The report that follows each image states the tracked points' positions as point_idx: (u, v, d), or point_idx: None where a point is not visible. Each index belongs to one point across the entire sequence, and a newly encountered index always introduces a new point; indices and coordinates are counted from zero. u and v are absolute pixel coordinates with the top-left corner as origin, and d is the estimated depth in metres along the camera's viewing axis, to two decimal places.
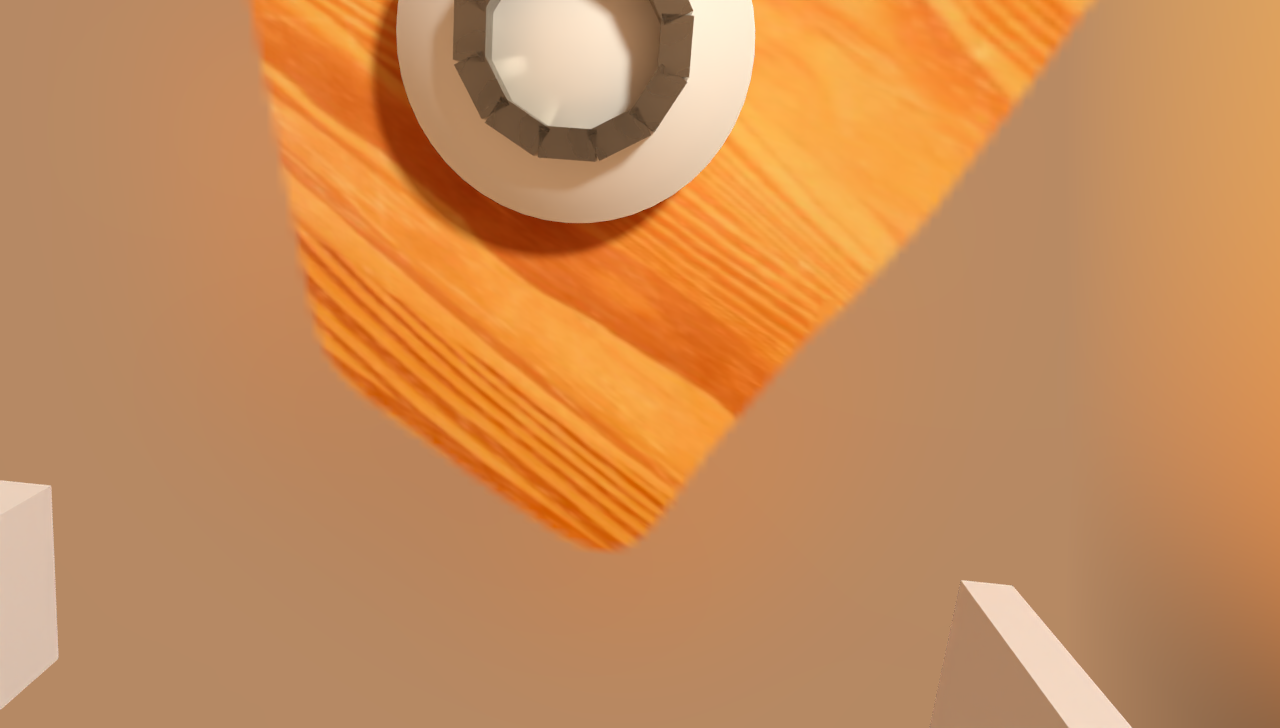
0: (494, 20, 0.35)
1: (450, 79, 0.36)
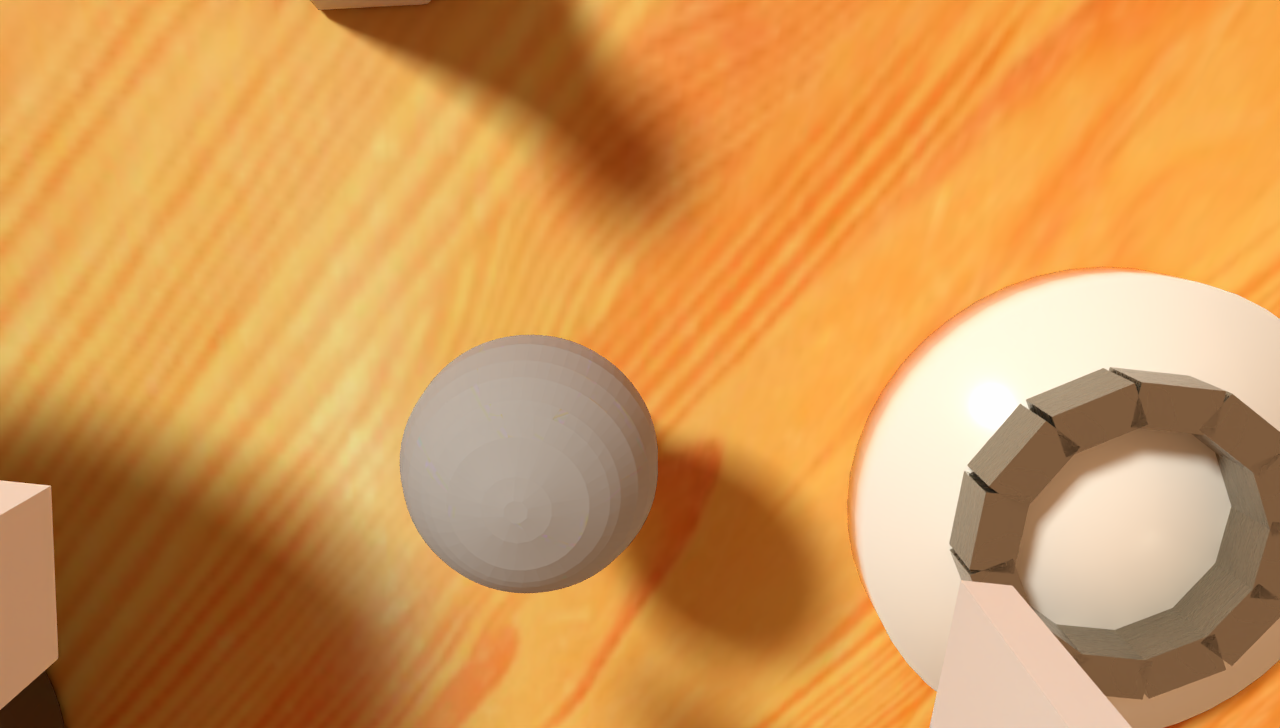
0: (1067, 623, 0.26)
1: None
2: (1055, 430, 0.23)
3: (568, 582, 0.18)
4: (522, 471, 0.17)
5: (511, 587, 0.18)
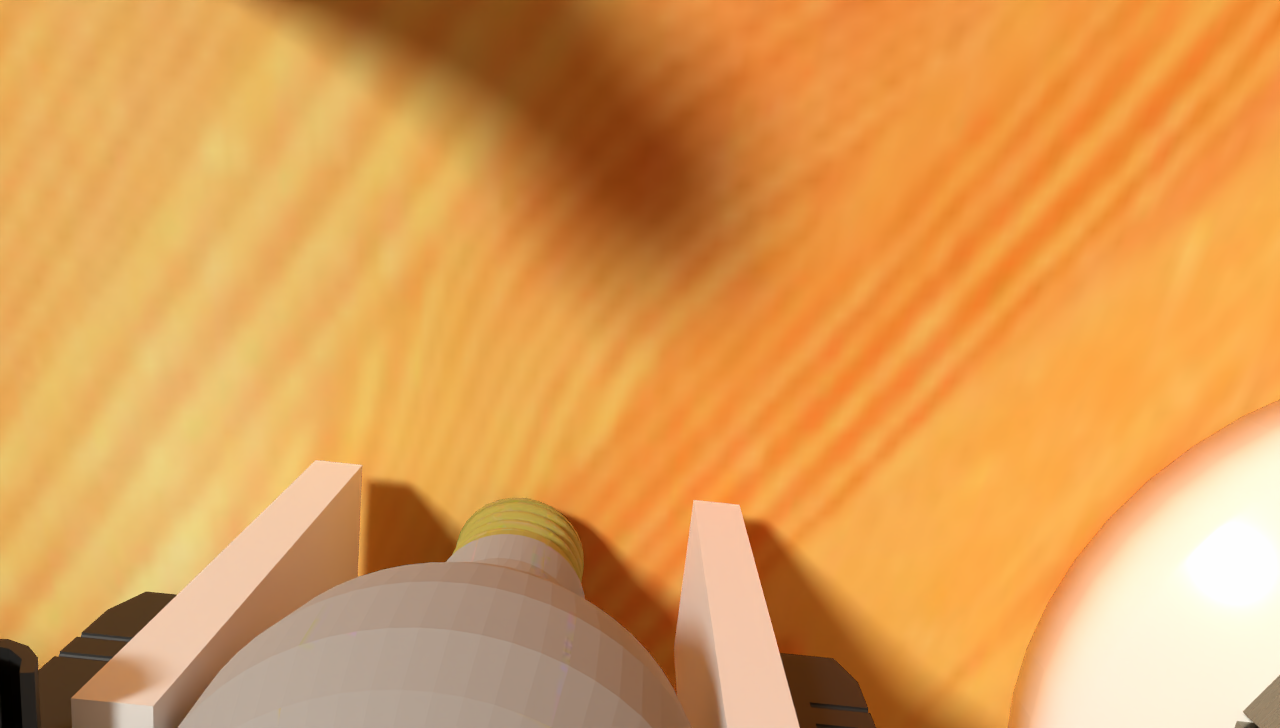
0: None
1: None
2: None
3: None
4: None
5: None
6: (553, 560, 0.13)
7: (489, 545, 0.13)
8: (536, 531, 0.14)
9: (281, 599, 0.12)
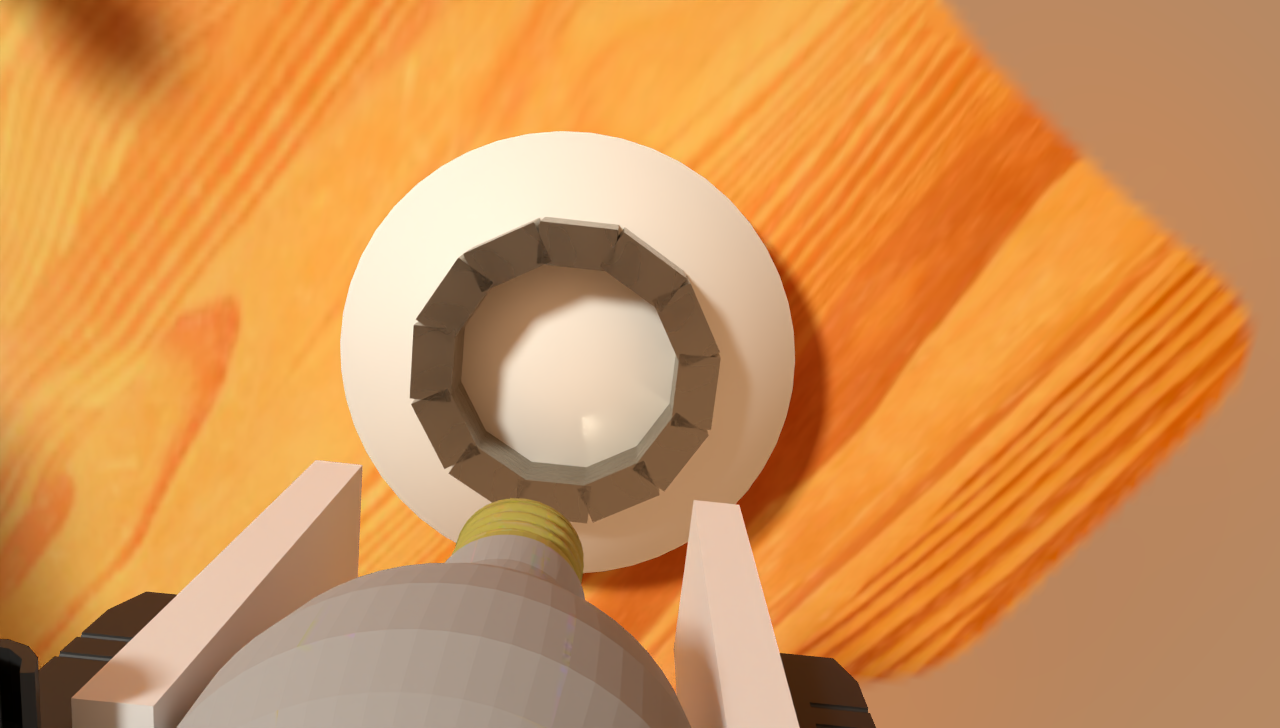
0: (541, 460, 0.29)
1: (608, 516, 0.29)
2: (468, 266, 0.26)
3: None
4: None
5: None
6: (552, 561, 0.13)
7: (488, 546, 0.13)
8: (536, 532, 0.14)
9: (281, 599, 0.12)
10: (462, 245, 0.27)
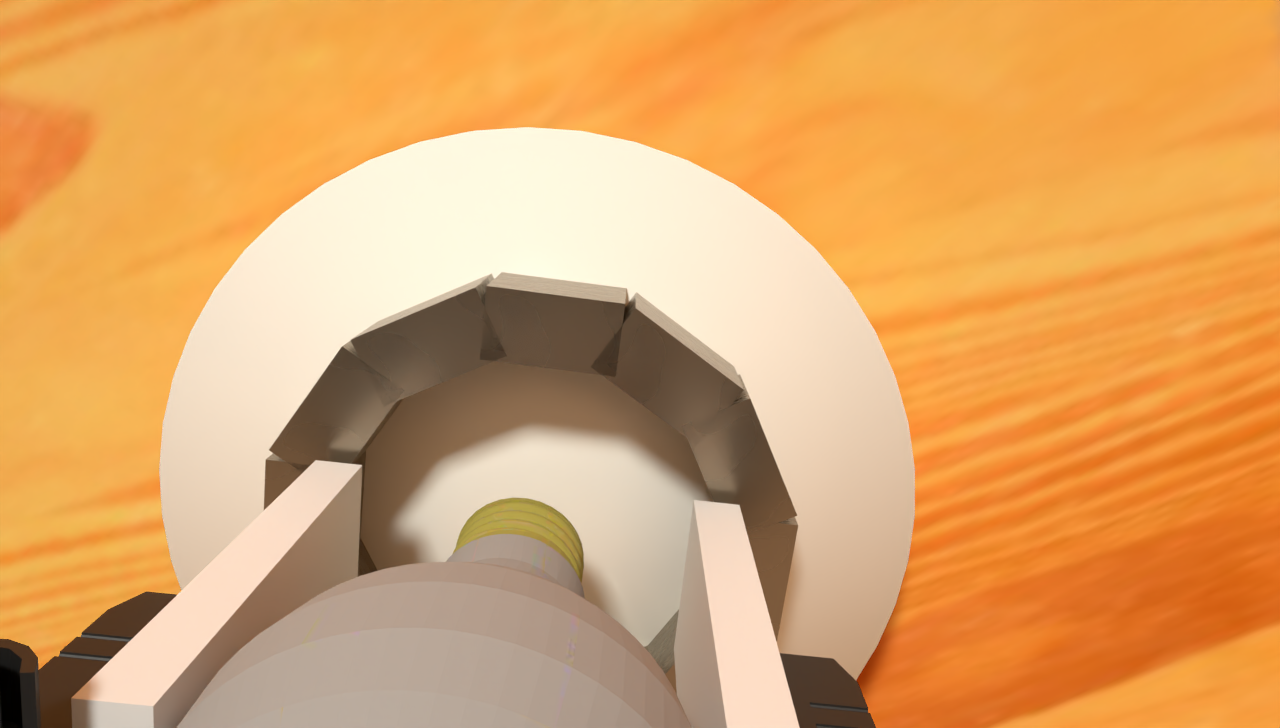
0: None
1: None
2: (482, 309, 0.14)
3: None
4: None
5: None
6: (553, 561, 0.13)
7: (490, 545, 0.13)
8: (537, 531, 0.14)
9: (281, 600, 0.12)
10: (488, 260, 0.16)
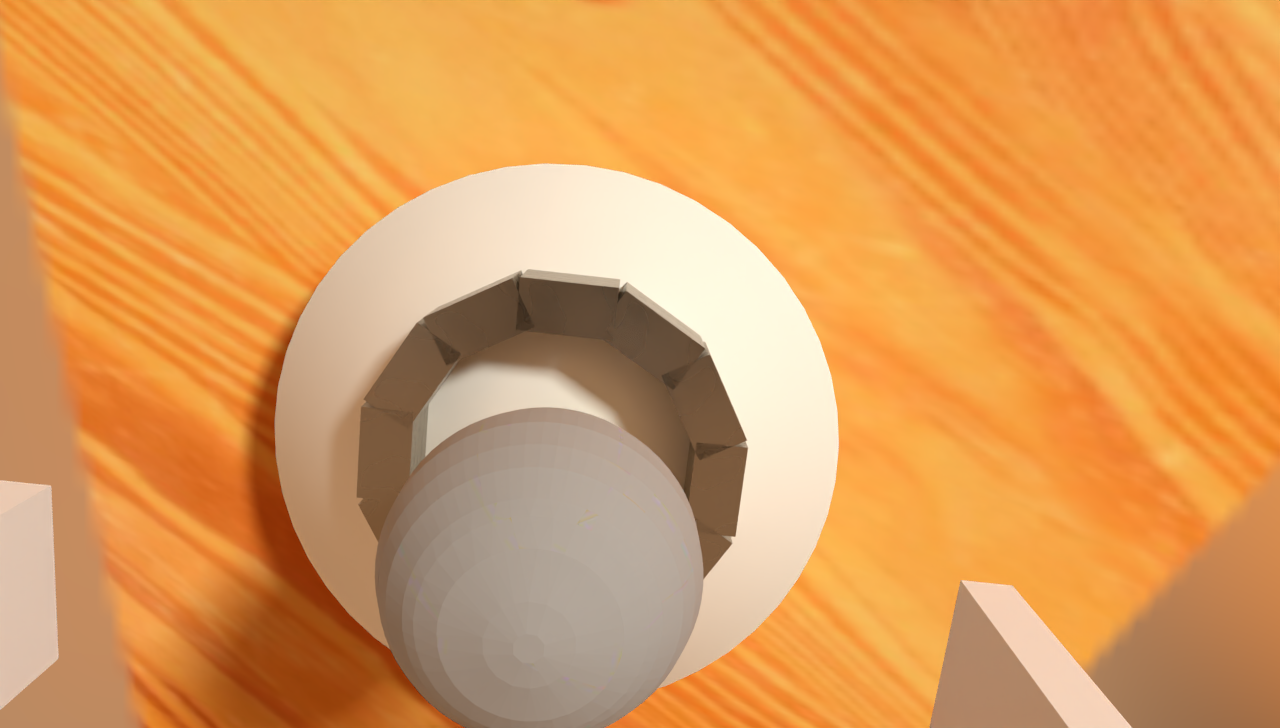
0: (430, 416, 0.23)
1: None
2: (693, 360, 0.21)
3: None
4: (537, 594, 0.13)
5: None
6: None
7: None
8: None
9: None
10: (707, 328, 0.22)
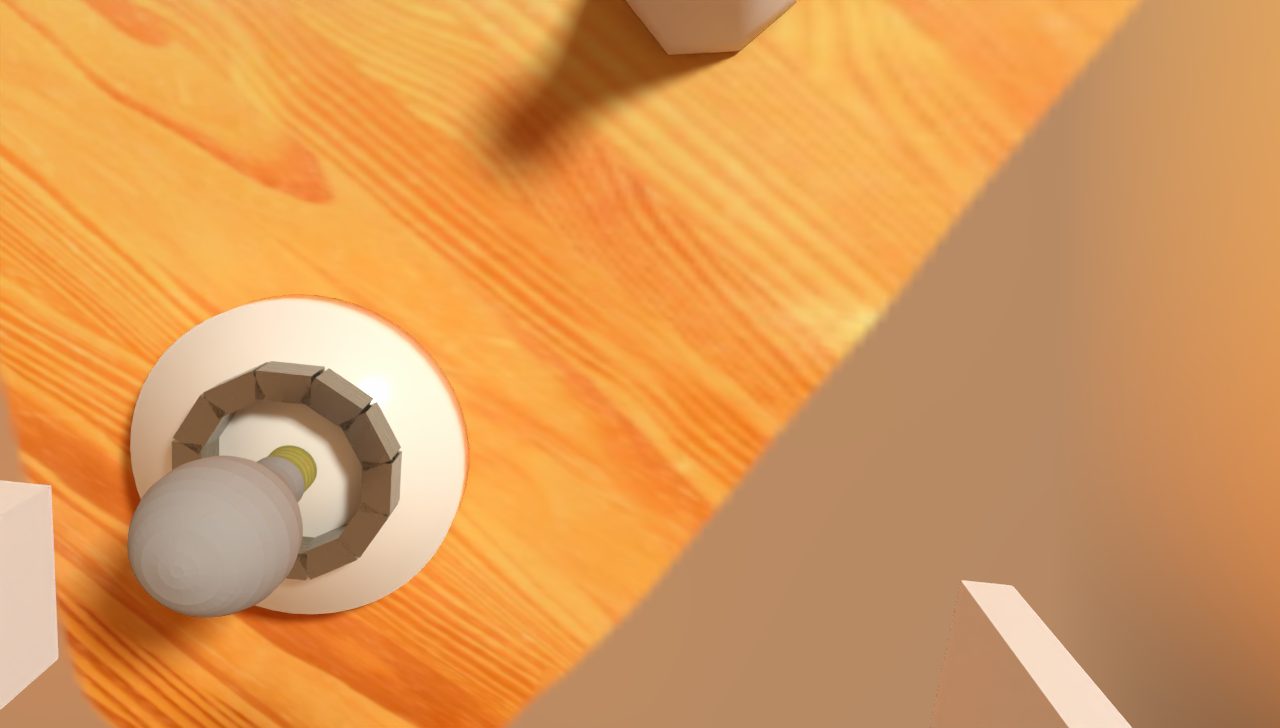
0: (220, 444, 0.39)
1: None
2: (356, 415, 0.37)
3: (225, 611, 0.31)
4: (180, 548, 0.29)
5: (189, 614, 0.30)
6: (288, 466, 0.36)
7: (265, 460, 0.36)
8: (290, 457, 0.37)
9: None
10: (377, 394, 0.38)
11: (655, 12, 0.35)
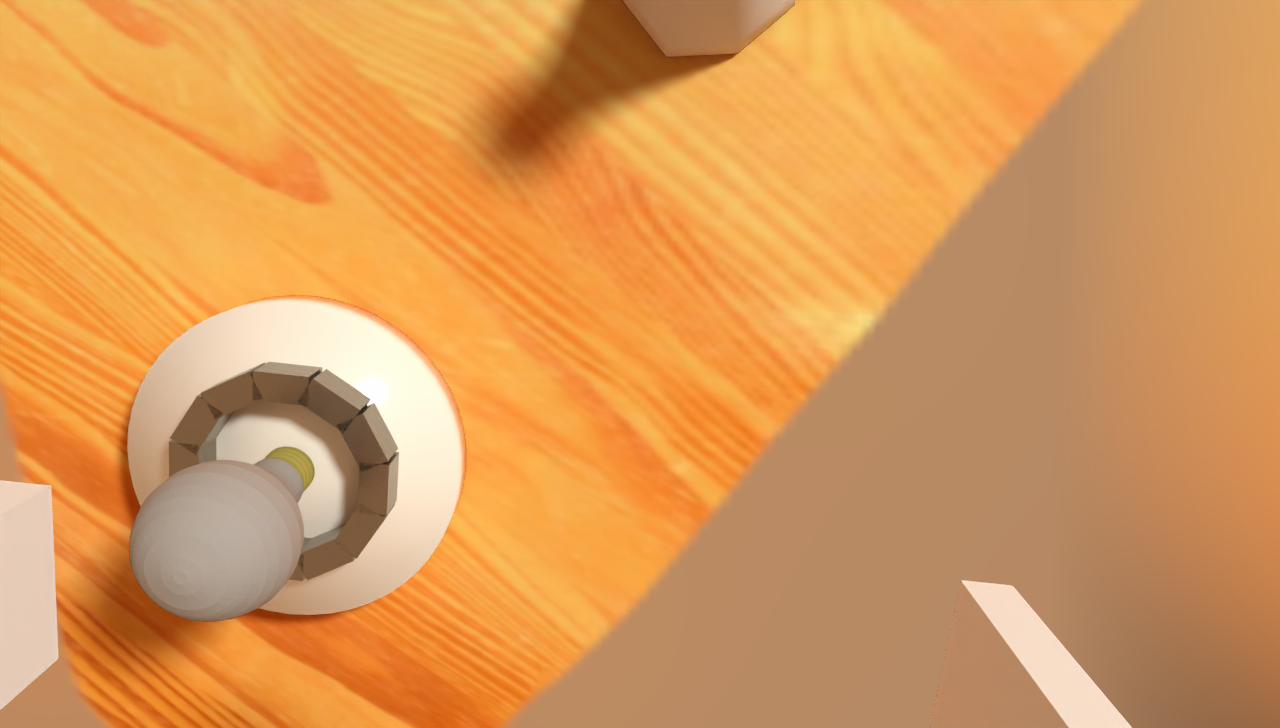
0: (217, 445, 0.39)
1: None
2: (353, 416, 0.37)
3: (228, 616, 0.31)
4: (183, 554, 0.29)
5: (192, 619, 0.30)
6: (287, 467, 0.36)
7: (263, 462, 0.36)
8: (288, 458, 0.37)
9: None
10: (375, 395, 0.38)
11: (654, 14, 0.35)
